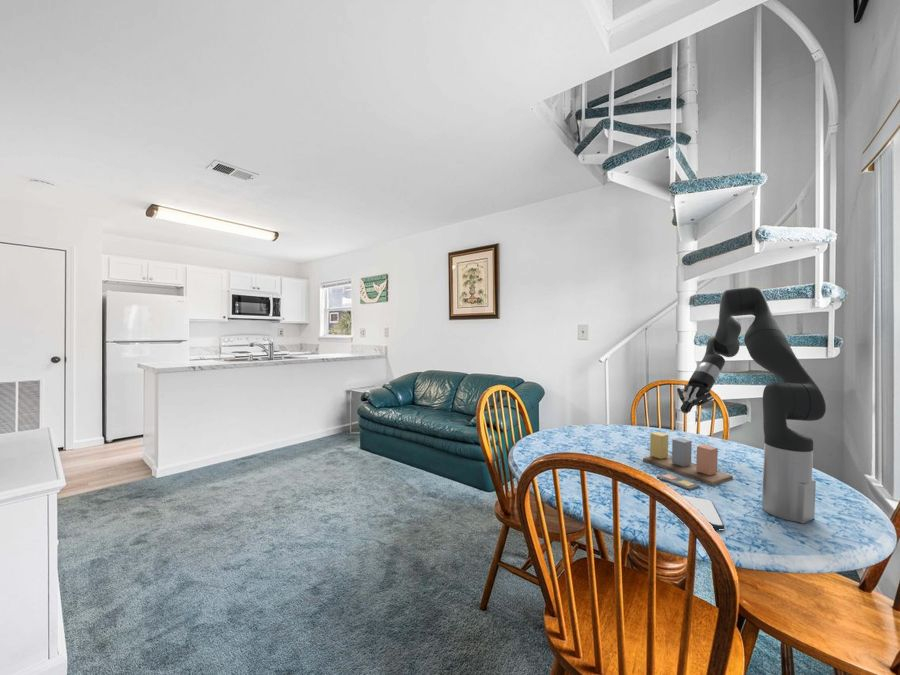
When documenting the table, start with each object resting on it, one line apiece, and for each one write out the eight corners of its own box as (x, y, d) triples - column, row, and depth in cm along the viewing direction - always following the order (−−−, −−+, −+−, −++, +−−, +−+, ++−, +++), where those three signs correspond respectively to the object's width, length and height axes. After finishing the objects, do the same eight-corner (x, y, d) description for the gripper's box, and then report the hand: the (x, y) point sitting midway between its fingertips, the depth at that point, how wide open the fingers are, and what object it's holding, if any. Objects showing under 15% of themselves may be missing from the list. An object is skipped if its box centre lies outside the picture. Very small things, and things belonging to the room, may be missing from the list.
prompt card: (699, 487, 112) (699, 484, 112) (689, 490, 110) (689, 487, 109) (667, 475, 121) (667, 472, 121) (657, 477, 118) (657, 475, 118)
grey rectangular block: (691, 464, 126) (691, 440, 126) (683, 466, 124) (684, 442, 124) (679, 460, 130) (679, 437, 130) (671, 462, 128) (672, 439, 128)
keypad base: (732, 479, 118) (732, 475, 118) (712, 485, 113) (712, 482, 113) (662, 456, 138) (662, 453, 138) (643, 460, 134) (643, 457, 134)
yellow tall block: (667, 457, 133) (668, 434, 133) (660, 458, 132) (661, 436, 131) (657, 453, 137) (657, 431, 137) (649, 455, 135) (650, 433, 135)
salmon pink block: (716, 473, 119) (717, 447, 119) (709, 475, 117) (710, 449, 117) (703, 468, 123) (704, 444, 122) (696, 470, 121) (696, 446, 121)
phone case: (674, 499, 106) (681, 525, 91) (674, 493, 106) (681, 518, 91) (712, 505, 102) (726, 534, 87) (712, 499, 102) (726, 527, 87)
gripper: (683, 368, 150) (662, 401, 145) (719, 372, 138) (698, 408, 133) (690, 381, 152) (670, 414, 147) (727, 385, 141) (706, 422, 135)
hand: (684, 411), depth 140 cm, fingers closed
